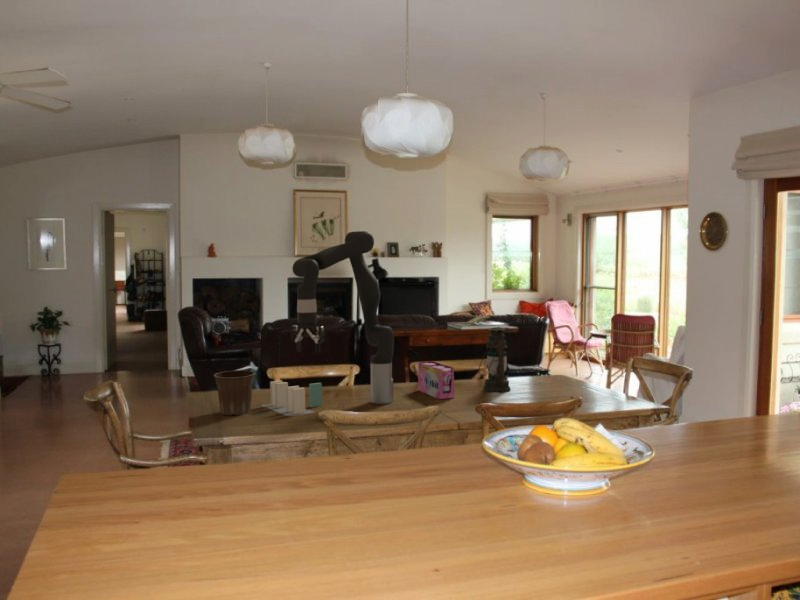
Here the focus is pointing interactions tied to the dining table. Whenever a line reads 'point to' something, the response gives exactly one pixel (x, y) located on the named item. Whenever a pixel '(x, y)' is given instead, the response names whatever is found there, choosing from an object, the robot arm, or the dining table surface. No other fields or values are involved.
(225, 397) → the plant pot
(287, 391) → the domino
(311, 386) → the teal tile
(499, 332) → the lantern
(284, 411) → the pale grey flat board
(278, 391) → the domino
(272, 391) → the domino
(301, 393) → the domino
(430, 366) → the gum box
